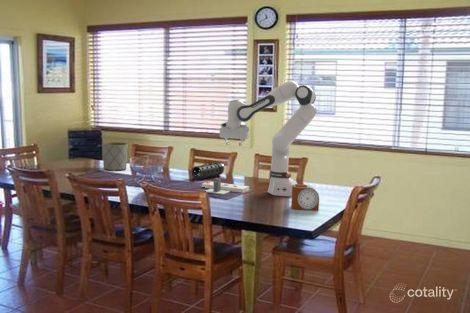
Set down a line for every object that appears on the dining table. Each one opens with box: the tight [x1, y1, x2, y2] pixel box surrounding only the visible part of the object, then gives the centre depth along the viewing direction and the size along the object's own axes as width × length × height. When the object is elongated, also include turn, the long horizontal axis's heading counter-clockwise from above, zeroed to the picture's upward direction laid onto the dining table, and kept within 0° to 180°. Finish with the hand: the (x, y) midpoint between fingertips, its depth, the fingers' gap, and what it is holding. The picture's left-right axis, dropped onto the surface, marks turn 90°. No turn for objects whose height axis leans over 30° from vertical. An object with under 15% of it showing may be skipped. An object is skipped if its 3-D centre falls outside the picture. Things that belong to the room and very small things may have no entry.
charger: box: [213, 177, 222, 192], centre depth 339 cm, size 3×4×8 cm
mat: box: [205, 188, 231, 195], centre depth 340 cm, size 14×9×1 cm, turn 65°
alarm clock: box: [290, 183, 320, 211], centre depth 303 cm, size 15×8×14 cm, turn 90°
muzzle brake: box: [191, 162, 226, 181], centre depth 388 cm, size 10×28×10 cm, turn 144°
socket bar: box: [201, 180, 250, 194], centre depth 351 cm, size 30×10×3 cm, turn 65°
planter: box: [101, 141, 129, 172], centre depth 408 cm, size 19×19×20 cm
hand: (233, 145), depth 353 cm, fingers open, 8 cm apart
